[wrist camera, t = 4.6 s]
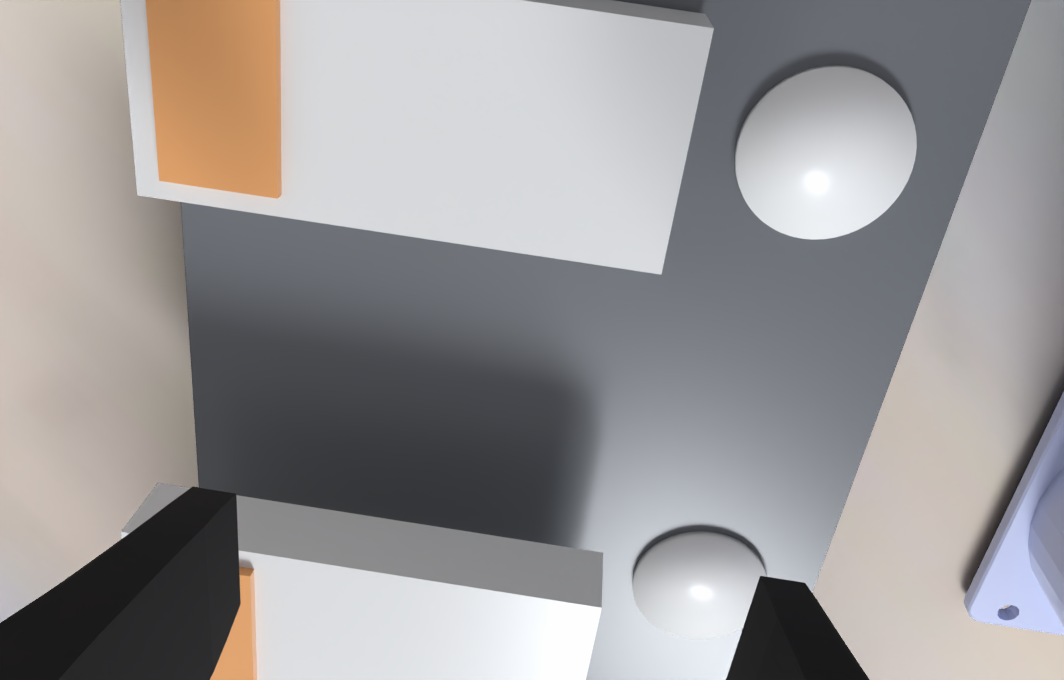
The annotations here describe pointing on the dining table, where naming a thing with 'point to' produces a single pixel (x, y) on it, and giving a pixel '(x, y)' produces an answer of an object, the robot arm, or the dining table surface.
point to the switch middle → (424, 117)
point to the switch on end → (399, 599)
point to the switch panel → (625, 333)
